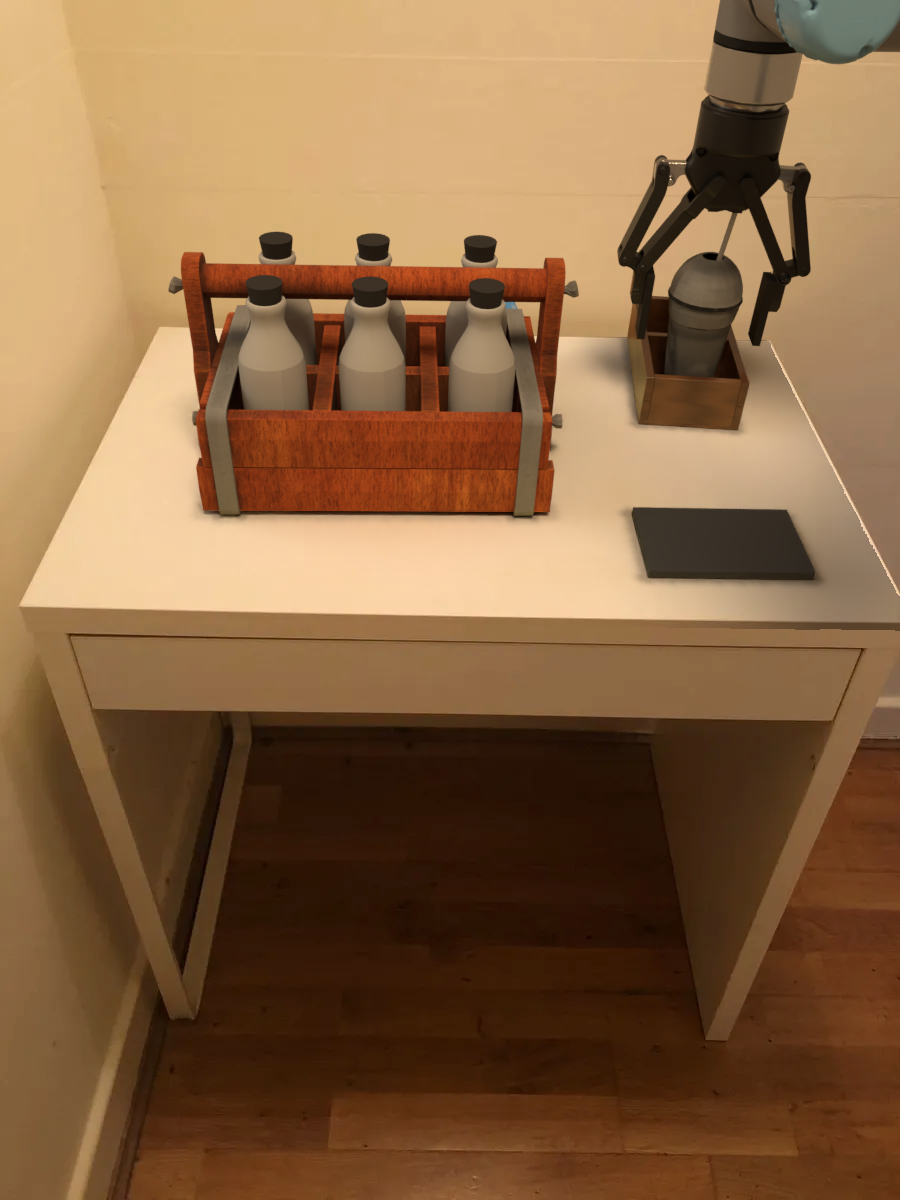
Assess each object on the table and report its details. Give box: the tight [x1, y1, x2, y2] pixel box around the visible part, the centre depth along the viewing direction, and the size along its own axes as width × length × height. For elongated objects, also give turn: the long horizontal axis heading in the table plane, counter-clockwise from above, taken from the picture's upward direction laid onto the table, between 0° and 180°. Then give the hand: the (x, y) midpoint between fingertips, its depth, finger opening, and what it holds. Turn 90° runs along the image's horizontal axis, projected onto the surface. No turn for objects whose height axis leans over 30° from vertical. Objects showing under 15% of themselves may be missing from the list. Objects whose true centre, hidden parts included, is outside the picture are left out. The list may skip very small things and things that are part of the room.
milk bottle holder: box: [168, 231, 580, 516], centre depth 88 cm, size 21×35×19 cm, turn 92°
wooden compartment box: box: [626, 295, 751, 431], centre depth 106 cm, size 10×19×5 cm, turn 176°
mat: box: [631, 506, 817, 581], centre depth 85 cm, size 14×9×1 cm, turn 91°
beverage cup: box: [664, 212, 744, 378], centre depth 97 cm, size 7×7×20 cm
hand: (696, 336), depth 99 cm, fingers open, 11 cm apart
